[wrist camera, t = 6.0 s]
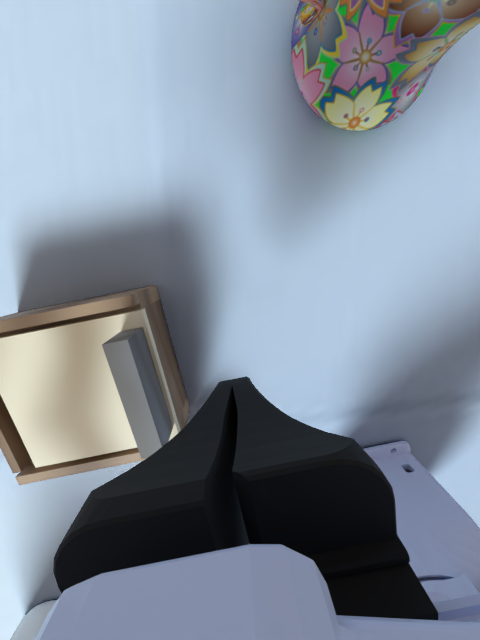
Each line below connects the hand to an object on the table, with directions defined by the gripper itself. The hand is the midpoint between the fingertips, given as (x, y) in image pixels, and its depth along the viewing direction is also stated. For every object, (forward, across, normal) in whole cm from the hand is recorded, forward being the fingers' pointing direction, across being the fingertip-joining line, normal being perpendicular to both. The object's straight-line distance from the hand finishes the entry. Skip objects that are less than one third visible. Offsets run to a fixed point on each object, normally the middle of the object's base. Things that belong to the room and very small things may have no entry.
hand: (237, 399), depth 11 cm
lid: (+4, +9, 0) cm, 10 cm away
